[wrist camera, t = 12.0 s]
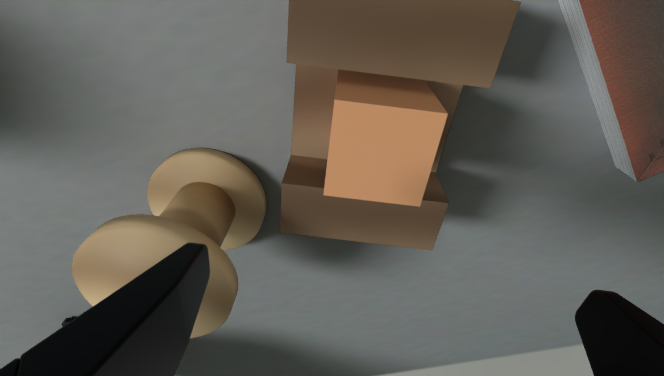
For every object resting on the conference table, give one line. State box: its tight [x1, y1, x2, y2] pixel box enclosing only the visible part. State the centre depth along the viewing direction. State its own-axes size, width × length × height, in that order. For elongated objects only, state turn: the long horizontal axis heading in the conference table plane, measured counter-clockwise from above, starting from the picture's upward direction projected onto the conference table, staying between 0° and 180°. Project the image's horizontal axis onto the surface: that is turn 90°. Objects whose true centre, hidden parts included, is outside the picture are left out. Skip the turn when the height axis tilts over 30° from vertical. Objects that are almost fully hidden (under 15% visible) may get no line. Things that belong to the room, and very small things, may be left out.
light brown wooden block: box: [323, 69, 448, 207], centre depth 15 cm, size 4×4×5 cm
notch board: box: [280, 0, 521, 250], centre depth 17 cm, size 12×8×4 cm
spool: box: [72, 148, 267, 338], centre depth 19 cm, size 7×7×8 cm
